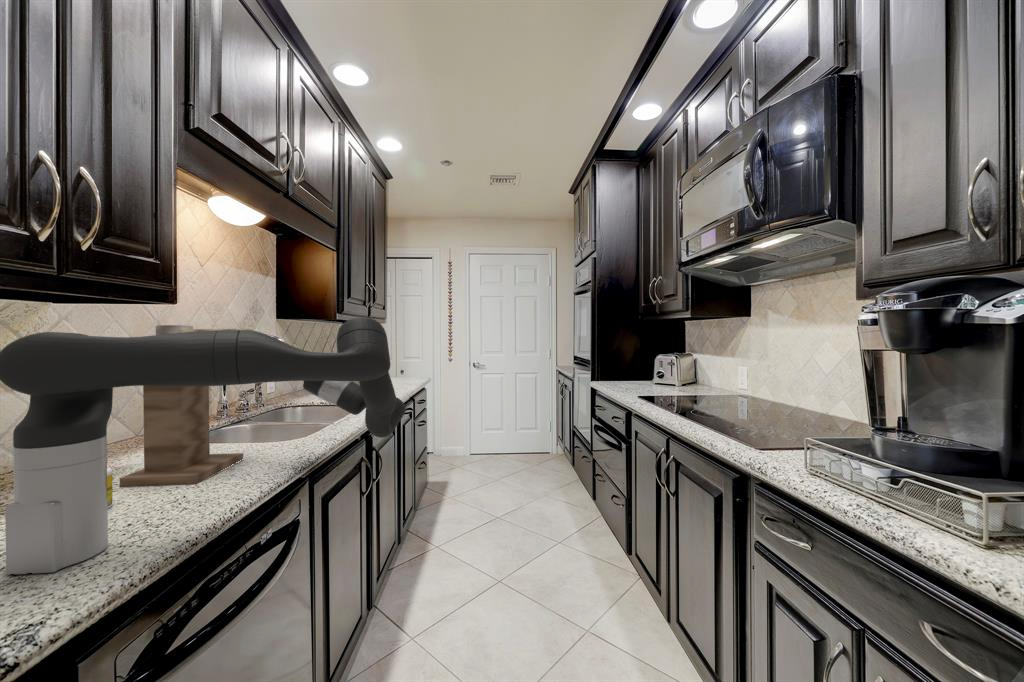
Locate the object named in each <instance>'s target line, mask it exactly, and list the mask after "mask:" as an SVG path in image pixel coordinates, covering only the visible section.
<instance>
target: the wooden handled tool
mask: <svg viewBox="0 0 1024 682" xmlns="http://www.w3.org/2000/svg"><path fill="white" fill-rule="evenodd" d="M213 330H252V331H254V329H252V328H211V329H210V328H207V329H206V328H205V329H204V328H203V329H202V328H201V329H198V328H197V329H194V326H193V325H180V324H174V325H172V324H170V325H167V324H165V325H164V324H162V325H160V324H159V325H157V324H156V325H155V335H163V334H172V333H183V332H196V331H213Z"/></svg>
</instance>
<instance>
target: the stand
mask: <svg viewBox="0 0 1024 682" xmlns="http://www.w3.org/2000/svg"><path fill="white" fill-rule="evenodd" d="M209 389H210V386H142V390H143V392H142V397H143V398H142V399H143V400H142V401H143V403H142V404H143V405H142V406H143V463H144V465H143V466H144V467H143V468H142V469H140V470H137V471H135V472H132V473H130V474H127V475H124V476H121V477H119V488H129V487H130V488H132V487H133V488H134V487H157V486H182V485H187V486H188V485H198V484H200V483H202V482H204V481H205V479H206V478H208V477H210V476H212V475H213V474H215V473H217V472H219V471H221V470H223V469H225V468H227V467H229V466H231V465H232V464H235V463H236V462H238V461H240V460H242V459H243V460H244V453H243V452H241V453H240V452H237V453H233V452H232V453H212V454H211V453H210V391H209ZM235 465H236V464H235ZM212 477H213V476H212ZM210 478H211V477H210ZM208 479H209V478H208ZM203 480H204V481H203ZM206 480H207V479H206ZM201 481H202V482H201ZM199 482H200V483H199ZM197 483H198V484H197Z"/></svg>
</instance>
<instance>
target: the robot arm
mask: <svg viewBox="0 0 1024 682" xmlns="http://www.w3.org/2000/svg"><path fill="white" fill-rule="evenodd" d="M389 350H390V349H389V342H388V336H387V332H386V329H385V328H384V326H383V325H382V324H381V322H379V321H377V320H376V319H373V318H370V317H366V316H357V317H353V318H349V319H347V320H346V321H345V322H343V323H342V324H341V325H340V327H339V329H338V331H337V335H336V352H318V351H317V352H316V351H308V350H305V349H300V348H298V347H295V346H293V345H291V344H288V343H286V342H284V341H282V340H280V339H278V338H276V337H274V336H271V335H269V334H266V333H264V332H260V331H256V330H253V331H252V330H213V331H196V332H183V333H172V334H163V335H156V334H155V335H146V336H145V335H144V336H129V337H128V336H127V337H126V336H125V337H124V336H122V337H119V336H99V335H98V336H97V335H95V336H93V335H87V334H84V333H76V332H61V331H59V332H58V331H47V332H45V331H44V332H36V333H32V334H31V333H30V334H28V335H25V336H23V337H20V338H18V339H16V340H12V341H11V342H10V343H8V344H7V345H6V346H5V347H3V348H2V349H1V350H0V382H1V383H3V385H5V386H6V387H7V388H10V389H11V390H13V391H16V392H18V393H20V394H25V395H28V396H30V397H29V407H28V410H27V411H26V414H25V416H24V417H23V419H21V421H20V422H19V423H18V424H17V425H16V426H15V428H14V430H13V435H12V436H13V437H12V438H13V439H12V442H13V443H12V446H13V447H12V448H13V454H12V455H13V456H12V457H13V502H12V503H9V504H7V505H6V506H5V508H4V509H5V512H4V513H5V517H4V518H5V573H6V574H14V575H28V574H27V573H32V574H46V573H49V574H50V573H56V572H57V571H59V570H61V569H63V568H66V567H69V566H70V567H71V566H72V565H75V564H78V563H81V562H83V561H86V560H88V559H90V558H93V557H94V556H96V555H99V554H100V553H102V552H103V551H104V550H106V549H107V547H108V545H109V518H108V517H109V516H108V510H109V509H107V467H108V463H107V459H108V457H107V455H108V454H107V453H108V449H107V448H108V445H107V441H108V439H107V434H108V433H107V429H108V424H109V423H108V422H109V420H110V418H111V416H112V411H113V400H114V399H113V397H114V394H113V393H114V388H122V387H138V386H139V387H141V386H142V387H143V386H209V387H220V386H236V385H237V386H239V385H251V384H259V383H261V384H262V383H277V382H298V381H299V382H300V381H302V382H303V384H302V388H303V390H305V391H306V392H308V393H309V394H312V395H314V396H316V397H318V398H319V399H321V400H323V401H325V402H327V403H330V404H332V405H334V406H336V407H338V408H340V409H342V410H343V411H346V412H347V413H349V414H351V415H353V416H357V415H359V414H360V413H362V412H363V411H364V410H365V417H364V419H365V421H364V423H365V426H366V429H367V430H368V432H369V433H370V434H371V435H373V436H375V437H377V438H387V437H389V436H391V435H392V434H393V432H394V431H395V429H396V427H398V425H399V423H400V421H401V420H402V419H403V417H404V415H405V413H406V412H407V408H406V405H405V402H403V401H402V400H401V399H400V398H398V397H397V396H396V391H395V388H394V385H393V382H392V378H391V375H390V368H391V358H390V357H391V356H390V351H389ZM356 382H358V383H359V384H358V383H356ZM6 574H5V575H6Z"/></svg>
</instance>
